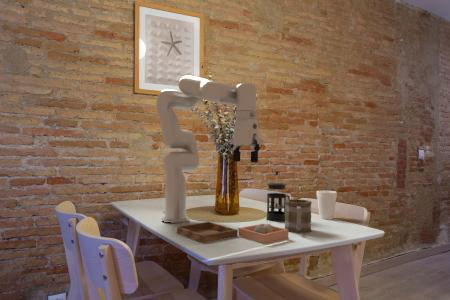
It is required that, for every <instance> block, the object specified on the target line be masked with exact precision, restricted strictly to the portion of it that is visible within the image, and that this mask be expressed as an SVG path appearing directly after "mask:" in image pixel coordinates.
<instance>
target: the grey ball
mask: <svg viewBox="0 0 450 300" xmlns="http://www.w3.org/2000/svg"><path fill="white" fill-rule="evenodd" d="M254 232H257V233H261V234H265V233H266V231H265V228H264V227H263V226H260V225H259V226H256V227H255V228H254Z"/></svg>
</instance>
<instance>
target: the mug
mask: <svg viewBox="0 0 450 300" xmlns="http://www.w3.org/2000/svg"><path fill="white" fill-rule="evenodd" d="M311 221H312V201H311V200H308V199H307V200H306V199H299V198H297V199H295V198H294V199H293V198H292V199H291V198H290V199H289V200H288V199H286V200H285V221H284V229H287V230H288V233H293V234H308V233H310V232H312V227H311V226H312V224H311V223H312V222H311Z"/></svg>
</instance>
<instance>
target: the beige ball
mask: <svg viewBox="0 0 450 300" xmlns="http://www.w3.org/2000/svg"><path fill="white" fill-rule="evenodd" d="M264 224H265V225H264V226H263V227H264V228H265V231H266V233H265V234H267V233H272V232H274V228H273V226H274V225H271V224H270V223H264Z"/></svg>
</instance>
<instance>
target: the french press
mask: <svg viewBox="0 0 450 300" xmlns="http://www.w3.org/2000/svg"><path fill="white" fill-rule="evenodd" d="M272 173H275V176H276V182H270V183H267V184H266V185H267V186H268V189H269V190H275V192H272V193H270V192H269V193H267V194H266V197H267V198H266V205H267V206H266V220H267V221H270V222H276V223H277V222H285V200H289V199H291V196H290V195H287V194H286V193H279V192H278V190H286V186H287V184H286V183H283V182H278V175H279V173H282V171H280V170H275V171H274V170H273V171H272Z"/></svg>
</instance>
